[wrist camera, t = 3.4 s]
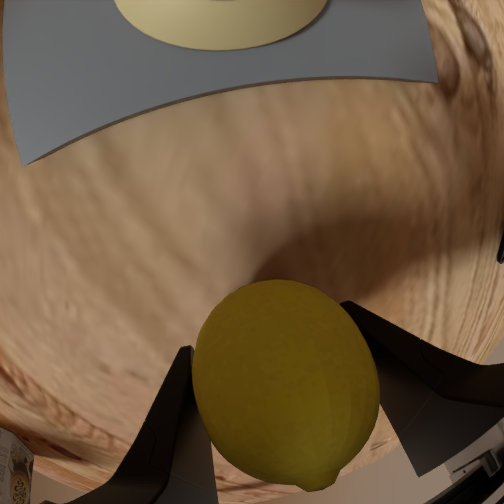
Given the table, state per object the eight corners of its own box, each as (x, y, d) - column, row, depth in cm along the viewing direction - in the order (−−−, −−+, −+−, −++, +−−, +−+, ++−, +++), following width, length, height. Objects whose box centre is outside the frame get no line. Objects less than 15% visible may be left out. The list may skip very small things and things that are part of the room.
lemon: (277, 210, 10) (422, 418, 3) (336, 299, 12) (426, 445, 5) (161, 294, 10) (155, 507, 3) (241, 358, 13) (279, 510, 6)
